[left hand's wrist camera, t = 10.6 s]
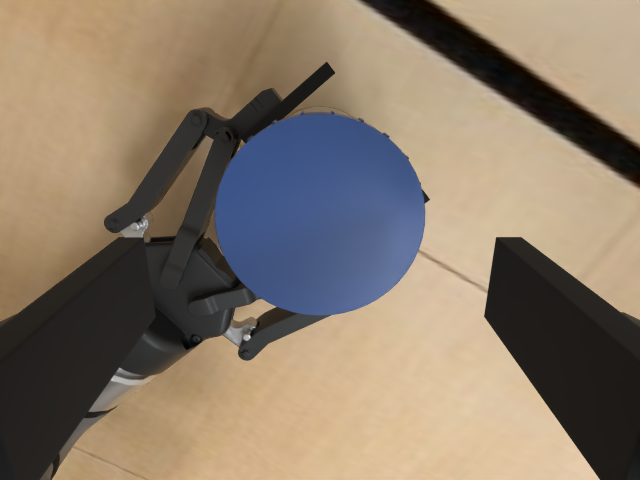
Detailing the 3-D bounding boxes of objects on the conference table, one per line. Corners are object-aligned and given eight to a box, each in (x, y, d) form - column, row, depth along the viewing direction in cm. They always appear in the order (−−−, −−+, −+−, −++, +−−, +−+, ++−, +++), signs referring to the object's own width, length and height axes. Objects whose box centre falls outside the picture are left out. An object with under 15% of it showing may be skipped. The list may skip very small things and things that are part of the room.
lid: (343, 63, 18) (345, 61, 16) (455, 232, 20) (466, 244, 19) (180, 192, 20) (168, 201, 18) (301, 331, 22) (300, 350, 21)
